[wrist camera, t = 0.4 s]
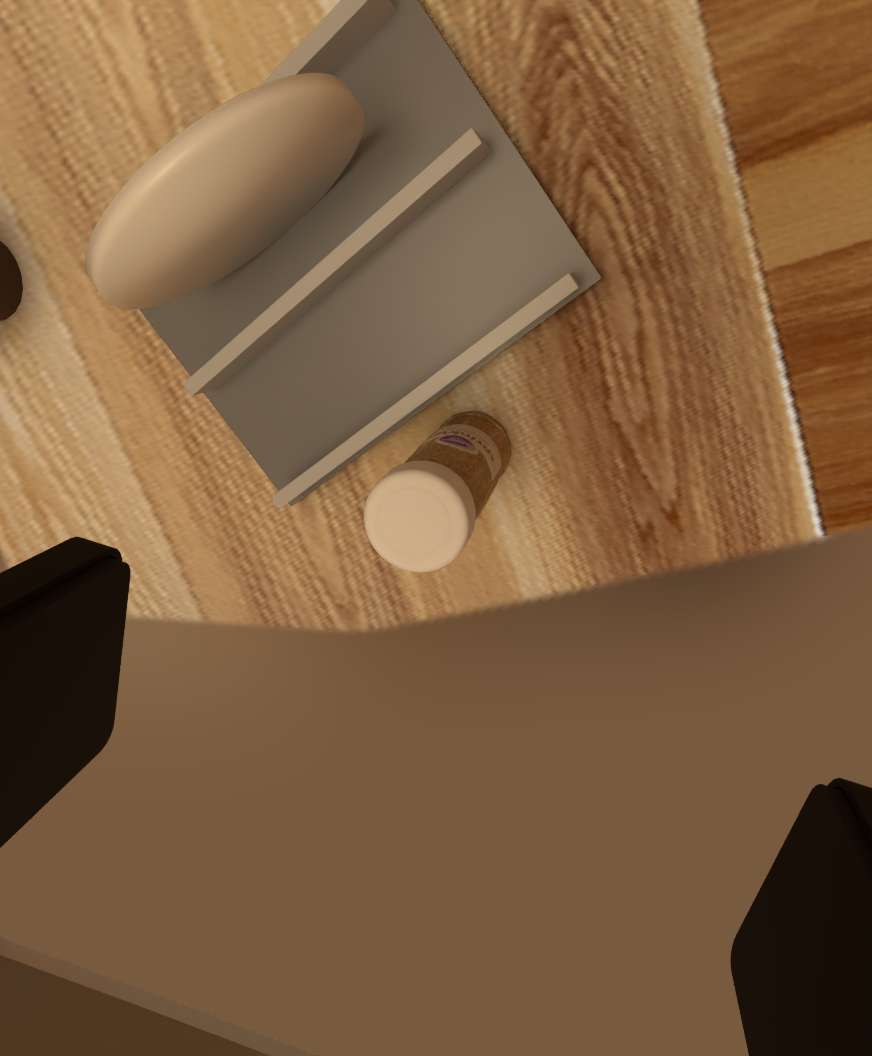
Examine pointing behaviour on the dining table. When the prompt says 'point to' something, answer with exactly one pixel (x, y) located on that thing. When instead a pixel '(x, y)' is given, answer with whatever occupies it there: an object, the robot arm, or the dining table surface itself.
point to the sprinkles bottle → (437, 494)
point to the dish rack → (338, 243)
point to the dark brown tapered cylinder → (9, 283)
